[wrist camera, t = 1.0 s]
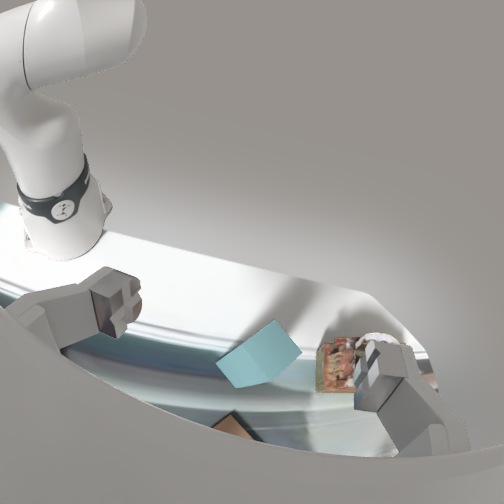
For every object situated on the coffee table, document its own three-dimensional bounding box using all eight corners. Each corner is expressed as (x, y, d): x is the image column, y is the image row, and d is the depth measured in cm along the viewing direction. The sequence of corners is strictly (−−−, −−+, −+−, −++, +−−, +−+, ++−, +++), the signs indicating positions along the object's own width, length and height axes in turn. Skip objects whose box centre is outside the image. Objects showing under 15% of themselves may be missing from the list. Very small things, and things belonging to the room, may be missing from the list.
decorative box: (313, 321, 48) (345, 302, 40) (391, 343, 51) (425, 329, 43) (303, 392, 40) (337, 386, 32) (388, 403, 43) (424, 396, 35)
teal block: (215, 362, 39) (241, 344, 27) (240, 344, 41) (274, 318, 30) (236, 388, 38) (271, 381, 26) (259, 368, 40) (302, 352, 29)
